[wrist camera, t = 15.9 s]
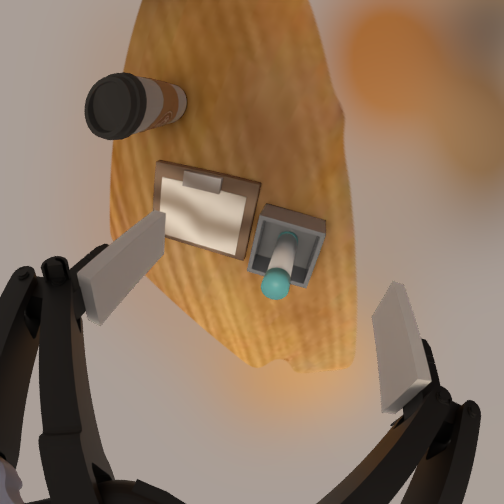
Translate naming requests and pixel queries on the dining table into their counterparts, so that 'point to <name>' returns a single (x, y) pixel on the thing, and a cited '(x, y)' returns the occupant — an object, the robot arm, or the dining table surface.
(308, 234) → the grey open box
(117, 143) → the dining table surface
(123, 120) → the coffee cup
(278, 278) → the marker
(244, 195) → the clipboard
